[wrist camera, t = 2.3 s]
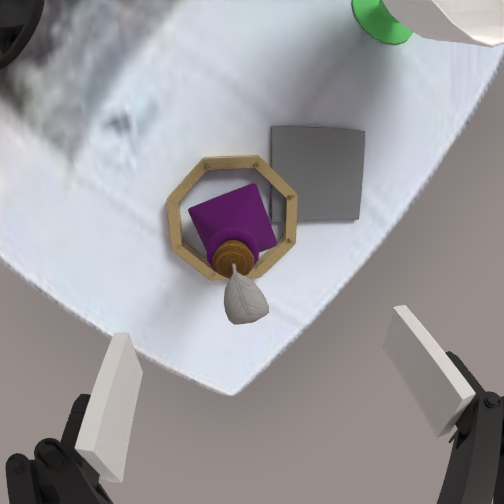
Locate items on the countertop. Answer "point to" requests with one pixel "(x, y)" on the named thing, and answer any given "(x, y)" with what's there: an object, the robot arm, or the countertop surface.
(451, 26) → the cup
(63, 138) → the countertop surface
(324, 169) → the slate coaster
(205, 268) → the wooden octagonal frame
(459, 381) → the robot arm
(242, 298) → the perfume bottle
